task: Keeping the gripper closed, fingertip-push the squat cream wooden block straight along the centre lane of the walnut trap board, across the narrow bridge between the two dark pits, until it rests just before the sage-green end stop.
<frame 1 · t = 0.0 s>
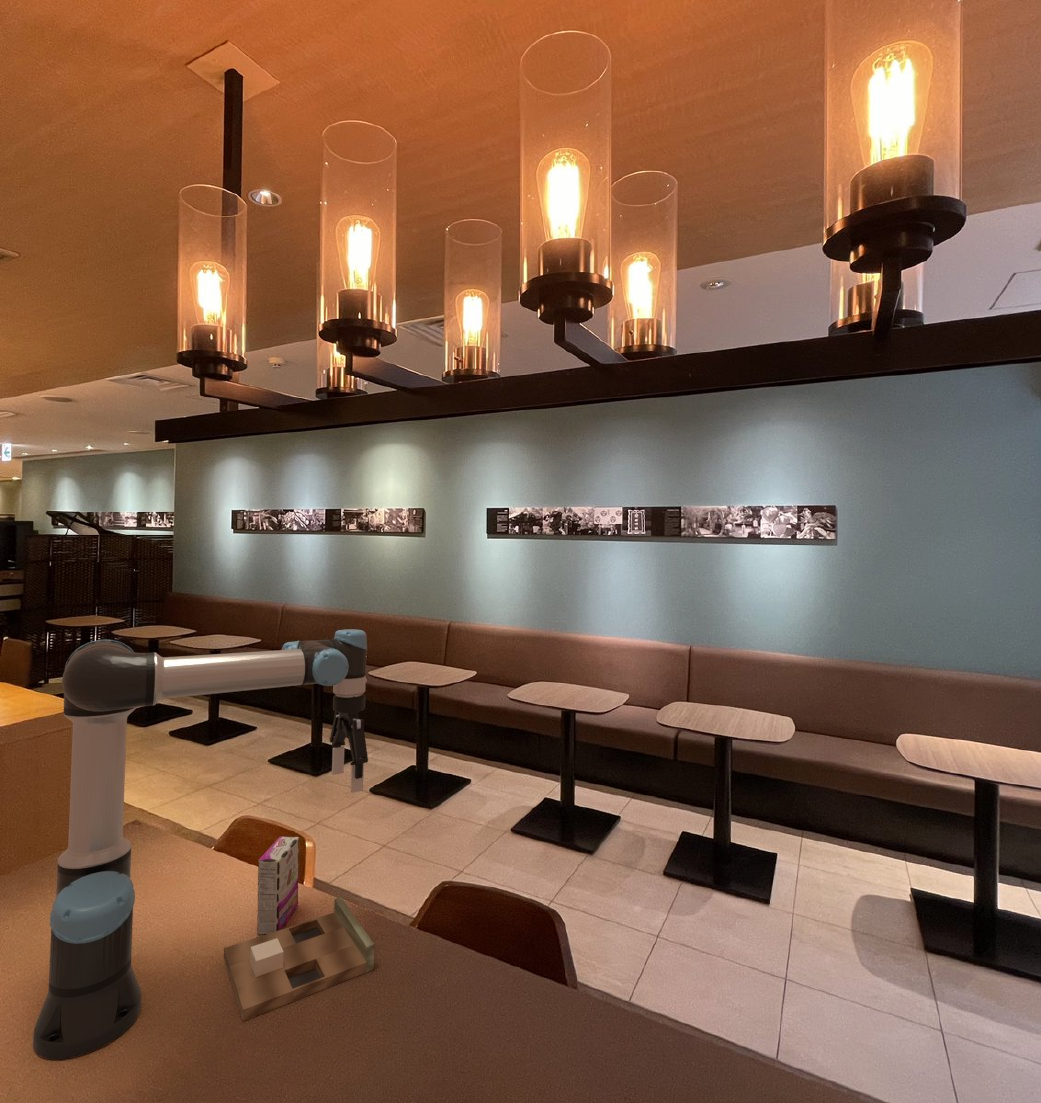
hand: (346, 782, 142), 28 cm above the table, fingers open, 13 cm apart
candy bar box: (277, 921, 133), on the table
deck: (297, 963, 119), on the table
block: (266, 965, 115), point 2 cm above the table, touching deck
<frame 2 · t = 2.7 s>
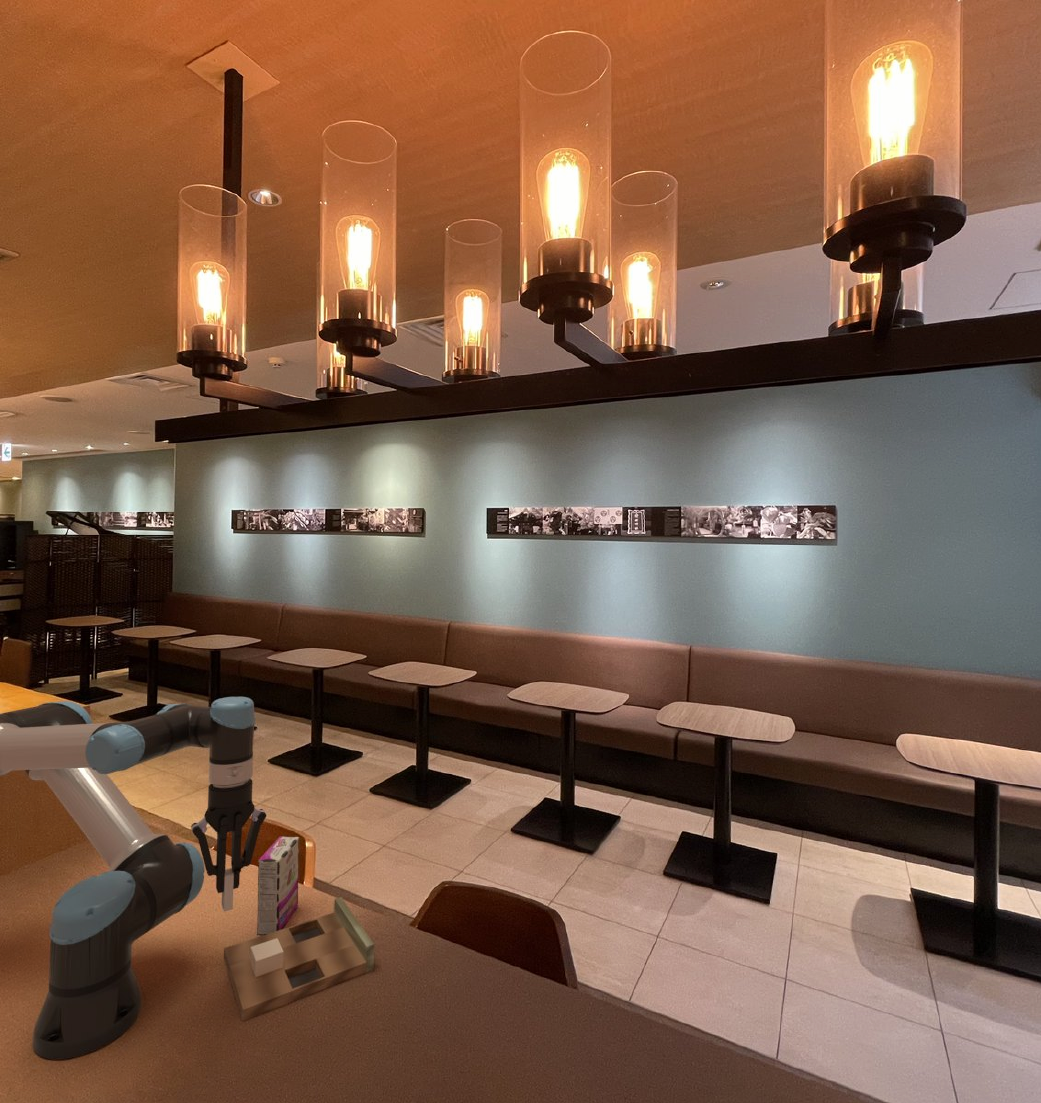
hand: (227, 907, 111), 16 cm above the table, fingers closed
nothing on the table moved.
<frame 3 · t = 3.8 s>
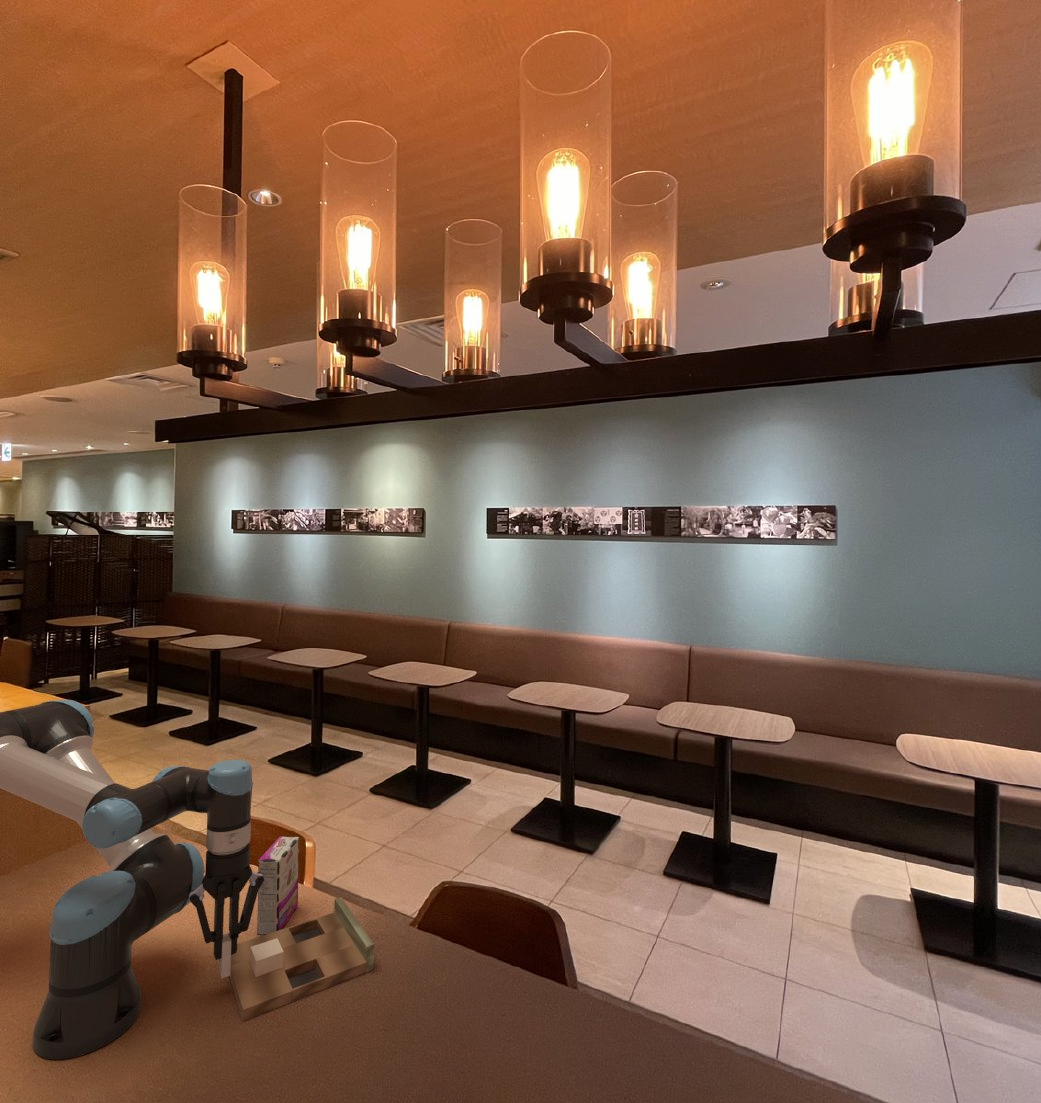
hand: (224, 972, 111), 3 cm above the table, fingers closed
nothing on the table moved.
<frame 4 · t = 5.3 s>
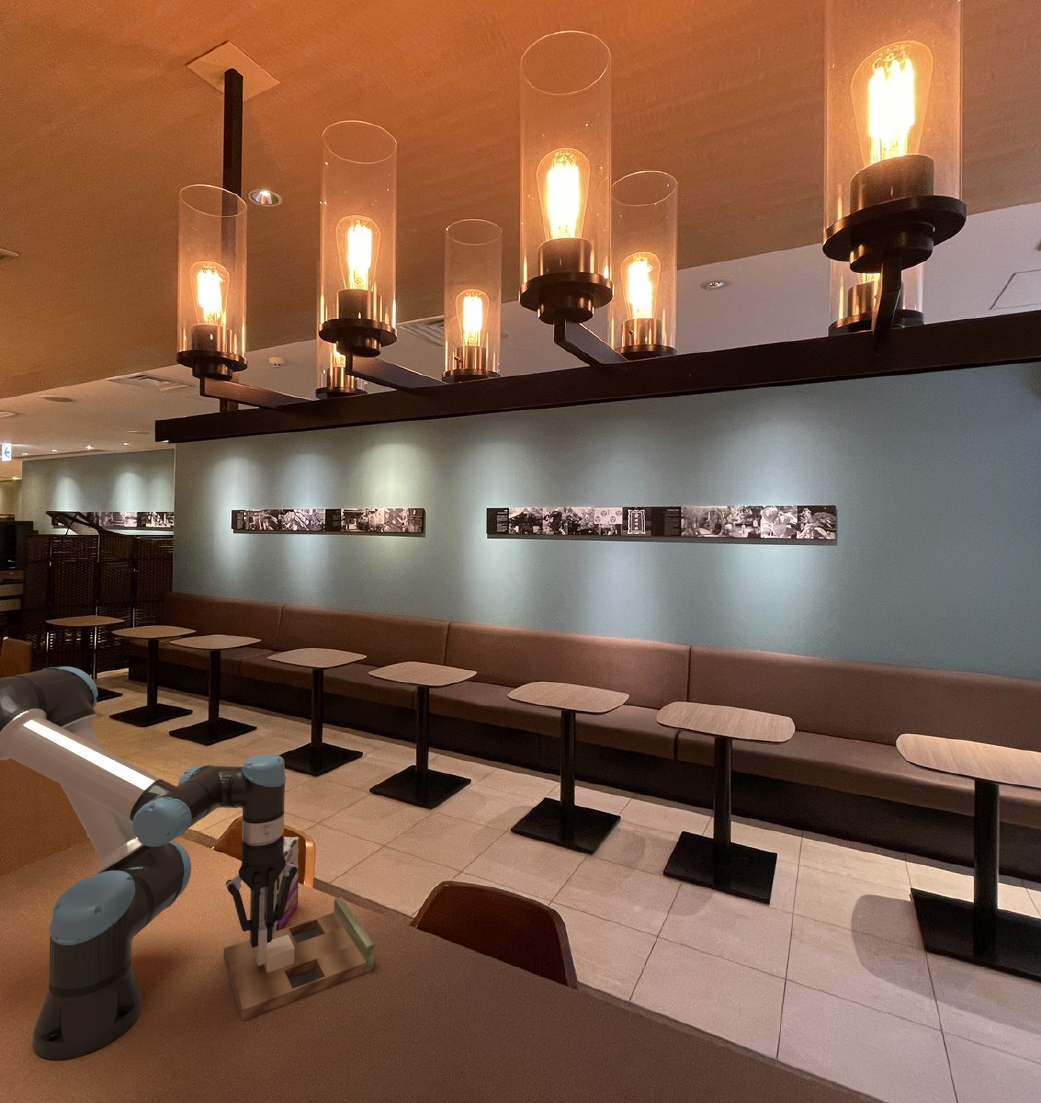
hand: (260, 960, 114), 3 cm above the table, fingers closed
block: (277, 961, 116), point 2 cm above the table, touching gripper
everything else where it was.
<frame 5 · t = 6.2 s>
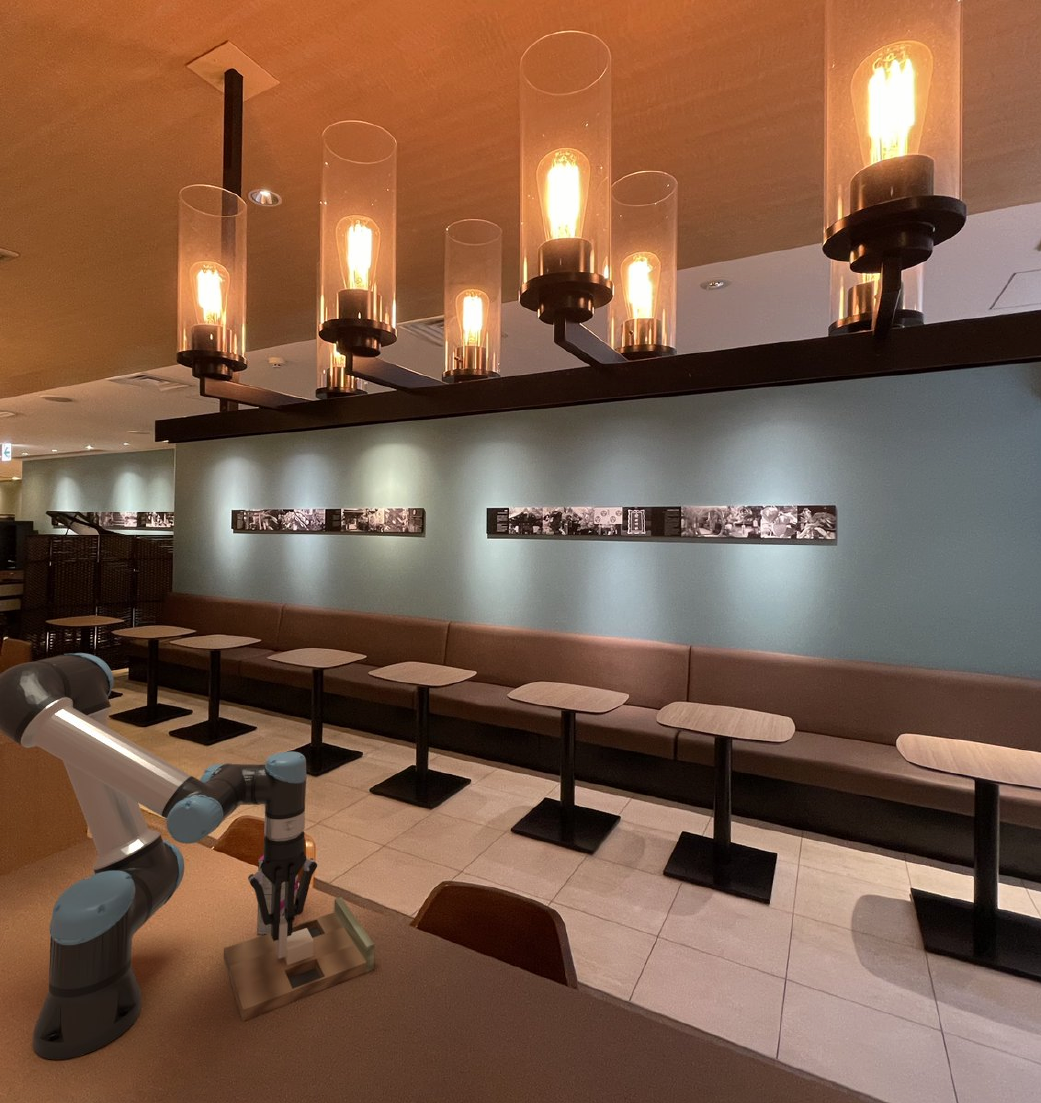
hand: (281, 953, 117), 3 cm above the table, fingers closed
block: (297, 953, 119), point 2 cm above the table, touching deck, gripper
everything else where it was.
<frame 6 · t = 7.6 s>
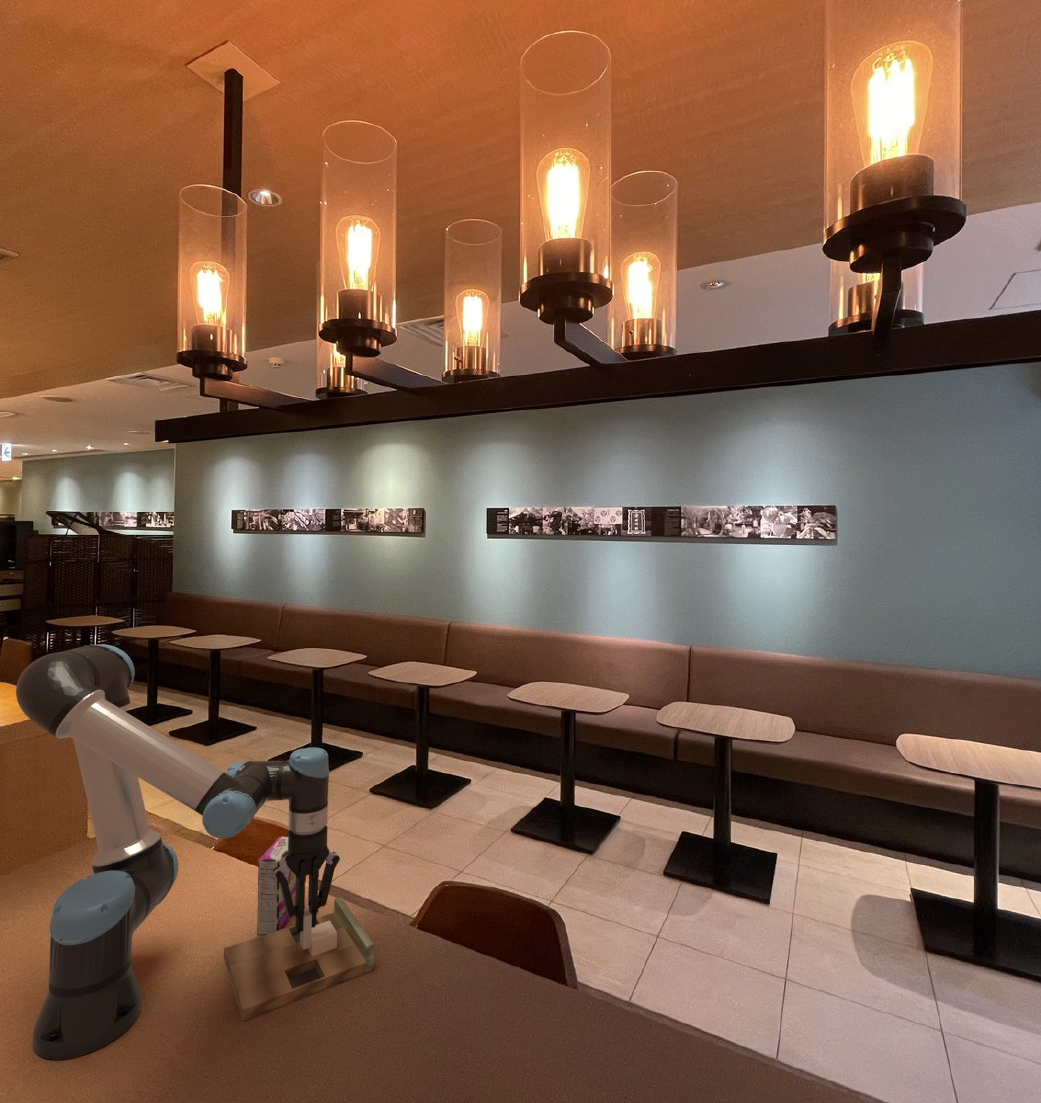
hand: (305, 944, 119), 3 cm above the table, fingers closed
block: (320, 945, 121), point 2 cm above the table, touching gripper
everything else where it was.
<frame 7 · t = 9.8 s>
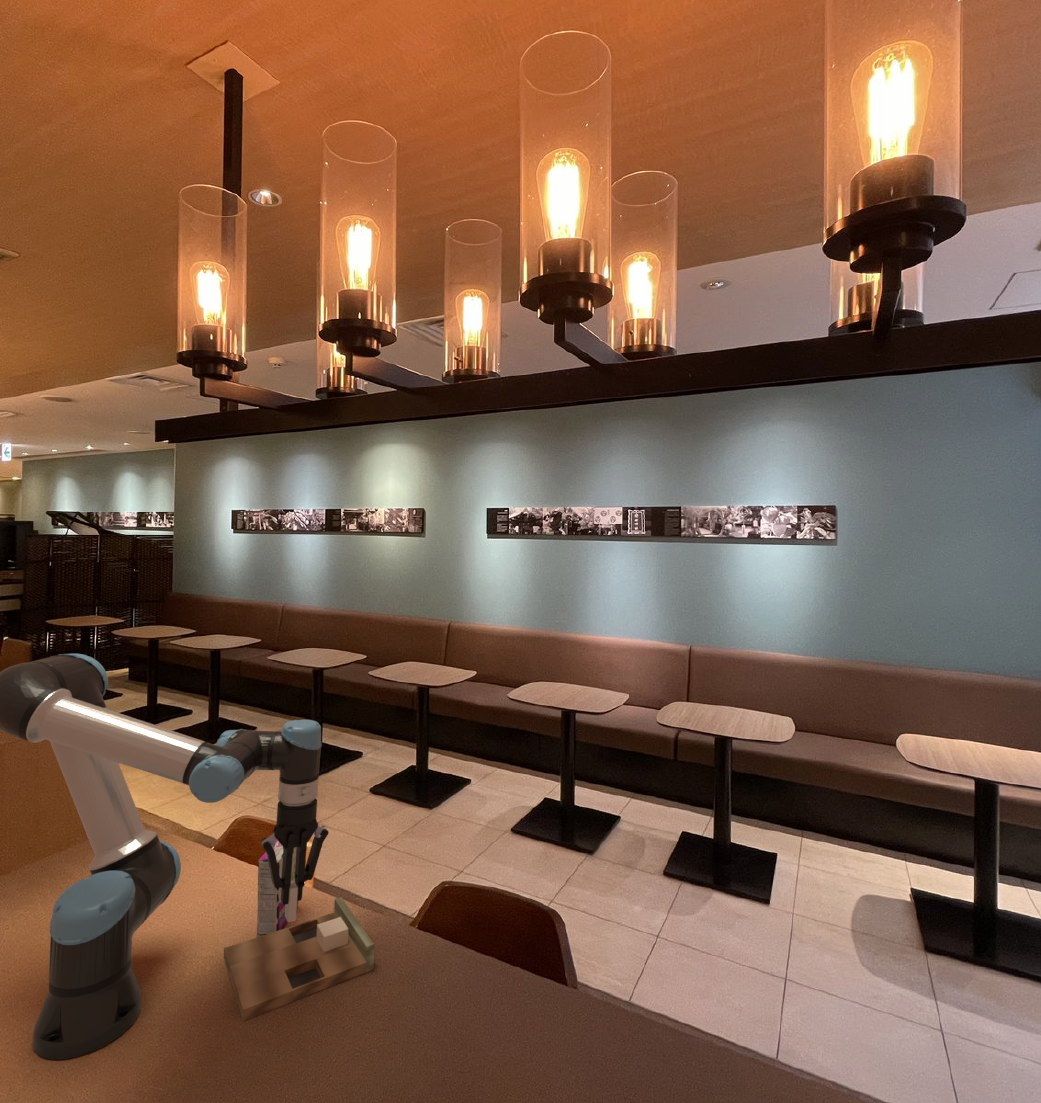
hand: (290, 917, 118), 10 cm above the table, fingers closed
block: (332, 941, 123), point 2 cm above the table, touching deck
everything else where it was.
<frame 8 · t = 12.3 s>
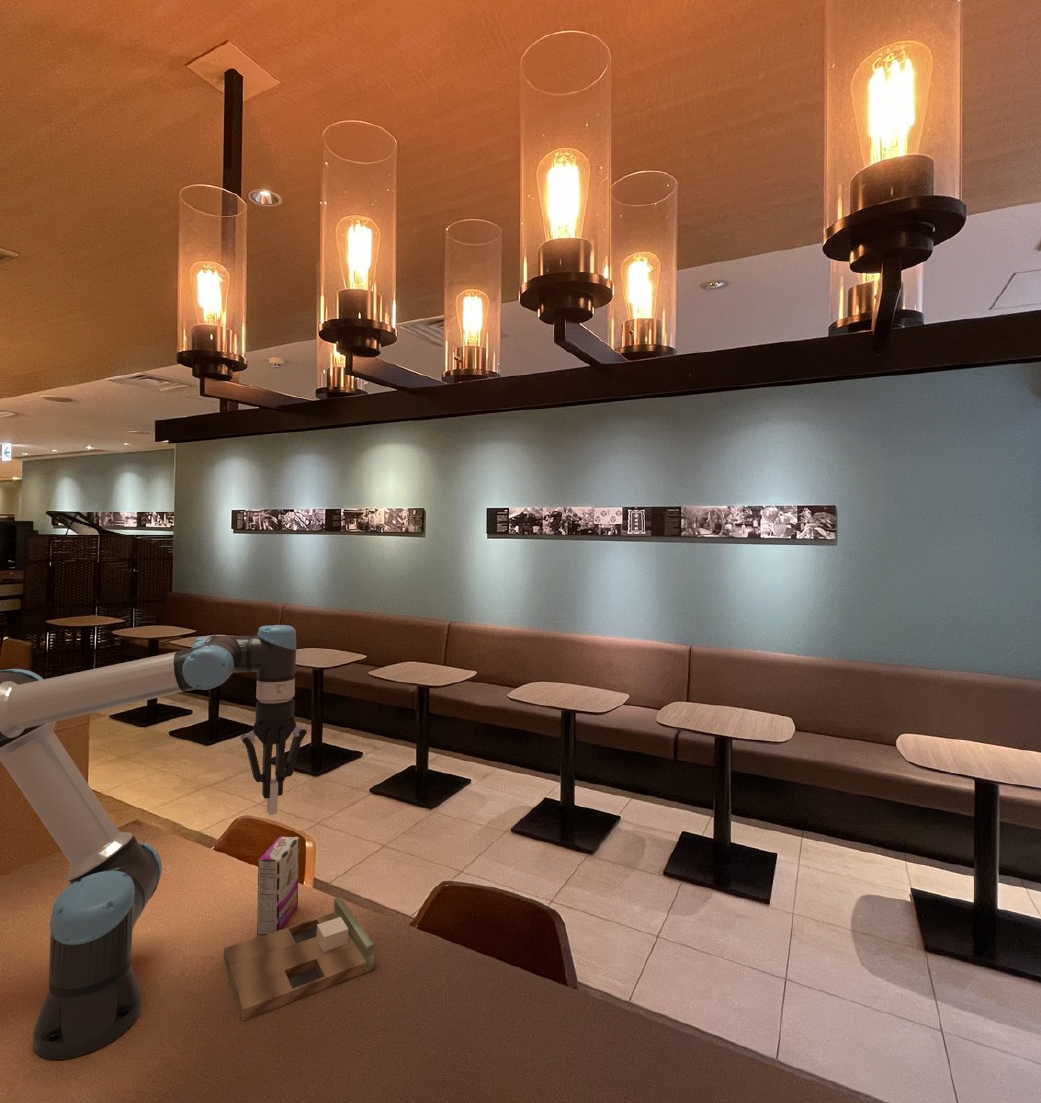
hand: (272, 812, 123), 28 cm above the table, fingers closed
nothing on the table moved.
at the end: block 0.6 cm from the target spot on the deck, point 2.0 cm above the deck's base; block tilted 0° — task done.
